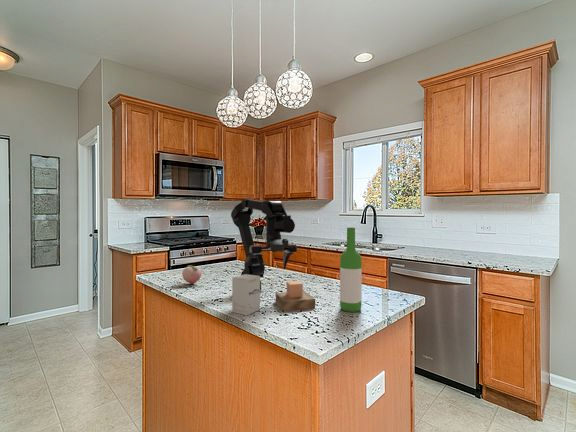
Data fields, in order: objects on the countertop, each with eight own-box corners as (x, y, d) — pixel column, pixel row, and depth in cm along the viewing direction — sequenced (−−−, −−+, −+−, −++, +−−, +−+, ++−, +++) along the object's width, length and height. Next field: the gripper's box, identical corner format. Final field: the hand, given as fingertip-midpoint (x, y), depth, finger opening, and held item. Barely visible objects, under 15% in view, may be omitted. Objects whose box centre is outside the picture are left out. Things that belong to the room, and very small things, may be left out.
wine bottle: (365, 309, 118) (365, 227, 117) (354, 314, 112) (354, 228, 111) (347, 304, 123) (347, 226, 122) (335, 309, 117) (336, 227, 116)
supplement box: (247, 315, 110) (247, 279, 110) (231, 312, 114) (231, 276, 114) (260, 310, 116) (260, 275, 116) (244, 306, 120) (244, 273, 120)
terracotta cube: (289, 297, 120) (289, 284, 120) (286, 294, 125) (286, 281, 125) (302, 296, 121) (302, 283, 121) (298, 293, 126) (298, 280, 126)
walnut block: (284, 312, 115) (284, 301, 115) (275, 303, 127) (275, 293, 127) (315, 309, 119) (315, 298, 119) (304, 300, 130) (304, 290, 130)
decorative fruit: (178, 284, 155) (178, 264, 155) (191, 281, 162) (191, 262, 162) (191, 287, 150) (191, 266, 150) (204, 284, 157) (204, 263, 157)
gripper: (254, 233, 120) (254, 275, 120) (301, 232, 125) (301, 272, 125) (249, 231, 130) (249, 269, 131) (292, 230, 136) (292, 267, 136)
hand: (273, 269), depth 130 cm, fingers open, 9 cm apart
